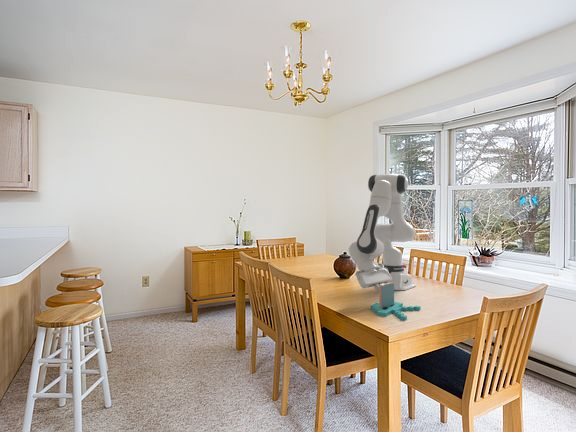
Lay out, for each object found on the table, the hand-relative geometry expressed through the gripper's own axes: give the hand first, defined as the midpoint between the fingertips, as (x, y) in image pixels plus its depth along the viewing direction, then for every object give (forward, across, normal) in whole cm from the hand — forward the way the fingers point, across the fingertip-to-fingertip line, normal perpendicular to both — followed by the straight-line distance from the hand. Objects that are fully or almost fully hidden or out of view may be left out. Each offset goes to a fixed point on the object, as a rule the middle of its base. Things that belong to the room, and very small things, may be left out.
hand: (383, 292), depth 177 cm
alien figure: (+10, 0, +2) cm, 11 cm away
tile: (+6, 0, +3) cm, 7 cm away
